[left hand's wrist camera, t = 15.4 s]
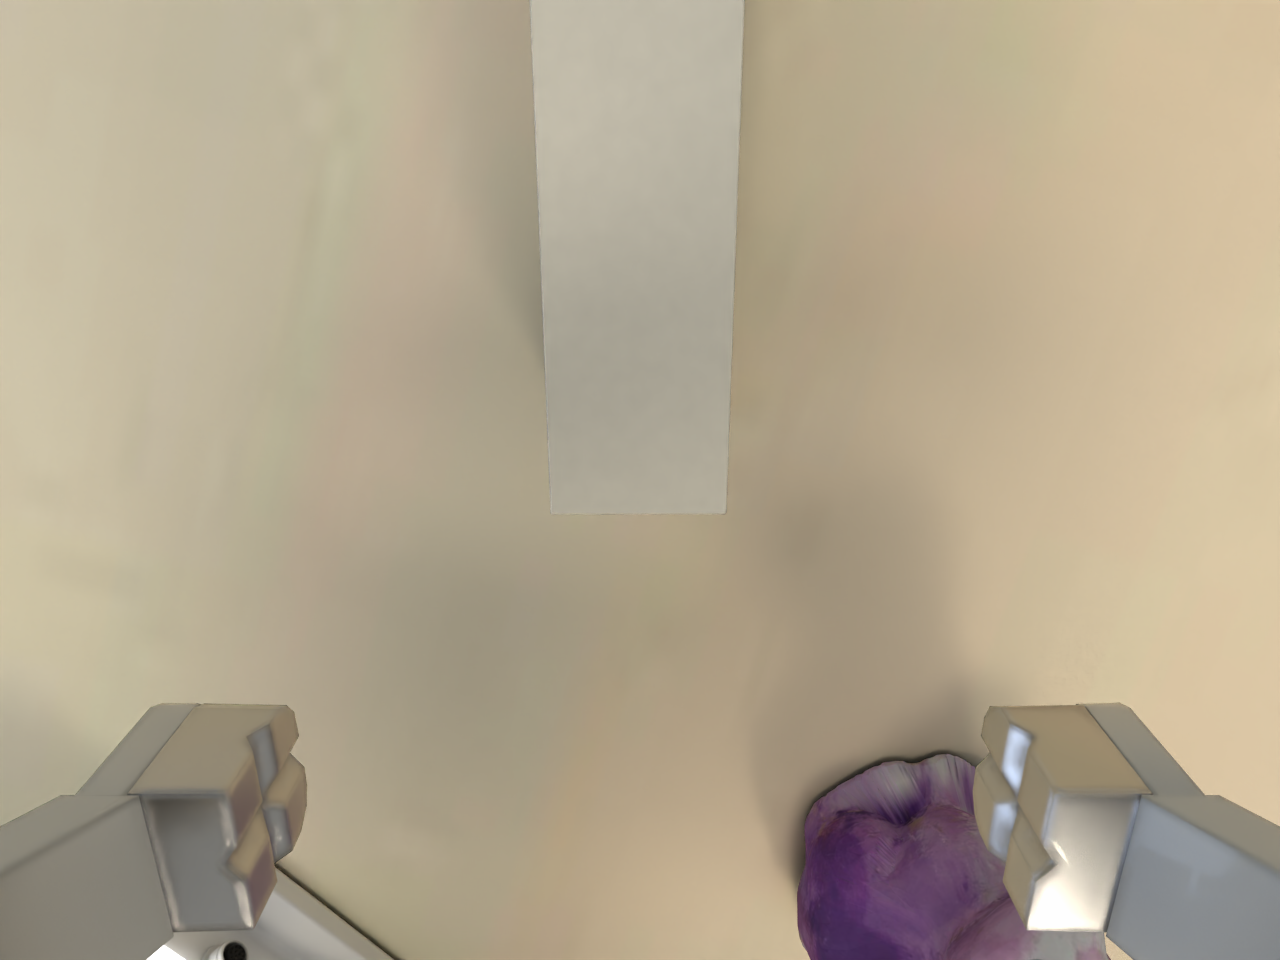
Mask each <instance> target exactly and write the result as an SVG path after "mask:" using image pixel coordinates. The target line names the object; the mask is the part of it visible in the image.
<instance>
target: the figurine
mask: <svg viewBox="0 0 1280 960" xmlns="http://www.w3.org/2000/svg"><path fill="white" fill-rule="evenodd" d="M974 777H975V766H971V764H970V763H968V762H966V760H964V759H961V758H960V757H958V756H953V755H950V754H941V755H936V756H934V757H931V758H927V759H924V760H923V761H921V762H918V763H906V762H904V761H891V762H884V763H881V765H879V766H874V767H872V768H870V769H868V770H866V771H864V773H862V774H858V775H856V776H855V777H854V778H852V779H850V780H848V781H846V782H844V783H842V784H840V785H838V786H837V787H836V788H835V789H833V790H832V791H830V792H828V793H827V795H826V796H822V797H821V798H820V799H819V800H817V801H816V802H815V803H814V804H813V806H812V808H811V810H810V812H809V814H808V815H807V818H806V822H805V843H806V854H805V858H806V863H805V868H804V870H803V873H802V876H801V880H800V883H799V887H798V892H797V913H798V930H799V936H800V939H801V942H802V945H803V947H804V948H805V949H806V950H807V952H808V955H809V957H810V959H811V960H1111V959H1110V958H1109V956H1108V955H1107V953H1106V946H1105V938H1104V932H1076V931H1041V930H1026V928H1025V926H1024V924H1023V922H1022V920H1021V918H1020V916H1019V914H1018V912H1017V910H1016V908H1015V906H1014V904H1013V902H1012V900H1011V897H1010V895H1009V893H1008V891H1007V889H1006V887H1005V885H1004V883H1003V876H1004V871H1005V865H1006V863H1004V862H1003V861H1001V860H1000V859H999V858H997V857H996V856H995V855H993V854H992V853H990V852H989V851H988V850H987V848H986V846H985V844H984V841H983V839H982V837H981V835H980V832H979V829H978V825H977V822H976V818H975V813H974V802H973V784H974Z"/></svg>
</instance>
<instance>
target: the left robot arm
mask: <svg viewBox="0 0 1280 960" xmlns="http://www.w3.org/2000/svg"><path fill="white" fill-rule="evenodd" d="M298 737H299V733H298V728H297V723H296V718H295V714H294V711H293V710H291V709H290V708H289V707H288V706H287V705H254V704H207V703H204V704H198V703H162V704H159V705H156V706H153V707H150V708H149V709H148V711H147V712H146V713H145V714H144V715H143V716H142V718H141V719H140V720H139V721H138V722H137V723H136V725H135V726H134V727H133V728H132V729H131V730H130V732H129V733H128V734H127V735H126V736H125V737H124V739H123V740H122V741H121V742H120V743H119V744H118V746H117V747H116V748H115V749H114V750H113V751H112V752H111V754H110V755H109V756H108V757H107V758H106V759H105V761H104V762H103V763H102V764H101V765H100V766H99V768H98V769H97V770H96V771H95V772H94V773H93V775H92V776H91V777H90V778H89V779H88V780H87V782H86V783H85V784H84V785H83V786H82V787H81V789H80V790H79V791H78V792H77V793H76V794H75V795H60V796H58V797H57V798H55V799H53V800H51V801H49V802H47V803H45V804H43V805H41V806H39V807H37V808H35V809H33V810H31V811H29V812H27V813H26V814H24V815H22V816H20V817H18V818H16V819H14V820H12V821H10V822H8V823H6V824H4V825H2V826H0V960H394V959H393V958H392V957H390V956H389V955H388V954H386V953H385V952H384V951H383V950H381V949H380V948H379V947H377V946H376V945H375V944H374V943H372V942H371V941H370V940H368V939H367V938H366V937H365V936H363V935H362V934H361V933H359V932H358V931H357V930H356V929H354V928H353V927H352V926H350V925H349V924H348V923H347V922H345V921H344V920H343V919H341V918H340V917H339V916H338V915H336V914H335V913H334V912H332V911H331V910H330V909H329V908H327V907H326V906H325V905H323V904H322V903H321V902H320V901H318V900H317V899H316V898H314V897H313V896H312V895H311V894H309V893H308V892H307V891H305V890H304V889H303V888H302V887H300V886H299V885H298V884H296V883H295V882H294V881H293V880H291V879H290V878H289V877H287V876H286V875H285V874H284V873H282V872H281V871H280V870H278V869H277V868H276V867H275V865H274V863H276V862H277V861H279V860H280V859H281V858H283V857H284V856H285V855H287V854H288V853H290V852H291V851H292V850H293V848H294V846H295V844H296V841H297V839H298V837H299V835H300V833H301V830H302V825H303V821H304V816H305V811H306V807H307V782H306V775H305V768H304V766H303V765H302V764H301V763H300V762H299V761H298V760H297V759H296V758H295V757H294V756H293V755H292V754H291V753H290V751H291V749H292V748H293V746H294V744H295V742H296V740H297V739H298ZM981 737H982V739H983V740H984V742H985V744H986V746H987V748H988V749H989V751H990V753H989V754H988V755H987V756H986V757H985V758H984V759H983V760H982V761H981V762H980V763H979V764H978V765H977V766H976V769H975V777H974V784H973V802H974V813H975V818H976V822H977V825H978V829H979V832H980V835H981V837H982V839H983V841H984V844H985V846H986V848H987V850H988V851H989V852H990V853H992V854H993V855H995V856H996V857H997V858H999V859H1000V860H1001V861H1003V862H1004V863H1006V865H1005V871H1004V876H1003V883H1004V885H1005V887H1006V889H1007V891H1008V893H1009V895H1010V897H1011V900H1012V902H1013V904H1014V906H1015V908H1016V910H1017V912H1018V914H1019V916H1020V918H1021V920H1022V922H1023V924H1024V926H1025V928H1026V930H1041V931H1076V932H1107V934H1106V937H1108V938H1109V939H1110V940H1111V941H1112V942H1113V943H1115V944H1116V945H1117V946H1118V947H1119V948H1120V949H1122V950H1123V951H1124V952H1125V953H1126V954H1127V955H1129V956H1130V957H1131V958H1132V959H1133V960H1280V827H1279V826H1278V825H1276V824H1274V823H1272V822H1270V821H1268V820H1266V819H1264V818H1262V817H1260V816H1258V815H1256V814H1254V813H1252V812H1251V811H1249V810H1247V809H1245V808H1243V807H1241V806H1239V805H1237V804H1235V803H1233V802H1231V801H1229V800H1227V799H1225V798H1223V797H1222V796H1220V795H1205V794H1204V793H1203V792H1202V791H1201V790H1200V789H1199V787H1198V786H1197V785H1196V784H1195V783H1194V782H1193V780H1192V779H1191V778H1190V777H1189V776H1188V775H1187V774H1186V772H1185V771H1184V770H1183V769H1182V768H1181V767H1180V765H1179V764H1178V763H1177V762H1176V761H1175V760H1174V758H1173V757H1172V756H1171V755H1170V754H1169V753H1168V751H1167V750H1166V749H1165V748H1164V747H1163V746H1162V744H1161V743H1160V742H1159V741H1158V740H1157V739H1156V737H1155V736H1154V735H1153V734H1152V733H1151V732H1150V730H1149V729H1148V728H1147V727H1146V726H1145V725H1144V723H1143V722H1142V721H1141V720H1140V719H1139V718H1138V717H1137V715H1136V714H1135V713H1134V712H1133V711H1132V710H1131V708H1129V707H1127V706H1125V705H1123V704H1121V703H1095V704H1076V705H1051V706H990V707H989V709H988V711H987V713H986V715H985V717H984V722H983V727H982V733H981Z"/></svg>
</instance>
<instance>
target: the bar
mask: <svg viewBox="0 0 1280 960" xmlns="http://www.w3.org/2000/svg"><path fill="white" fill-rule="evenodd" d="M744 11H745V0H530V24H531V49H532V73H533V97H534V121H535V145H536V169H537V194H538V218H539V242H540V266H541V290H542V315H543V339H544V363H545V387H546V411H547V436H548V460H549V484H550V508H551V514H552V515H607V514H726V513H727V489H728V461H729V433H730V405H731V377H732V349H733V320H734V292H735V264H736V236H737V208H738V180H739V152H740V124H741V95H742V67H743V39H744Z"/></svg>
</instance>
